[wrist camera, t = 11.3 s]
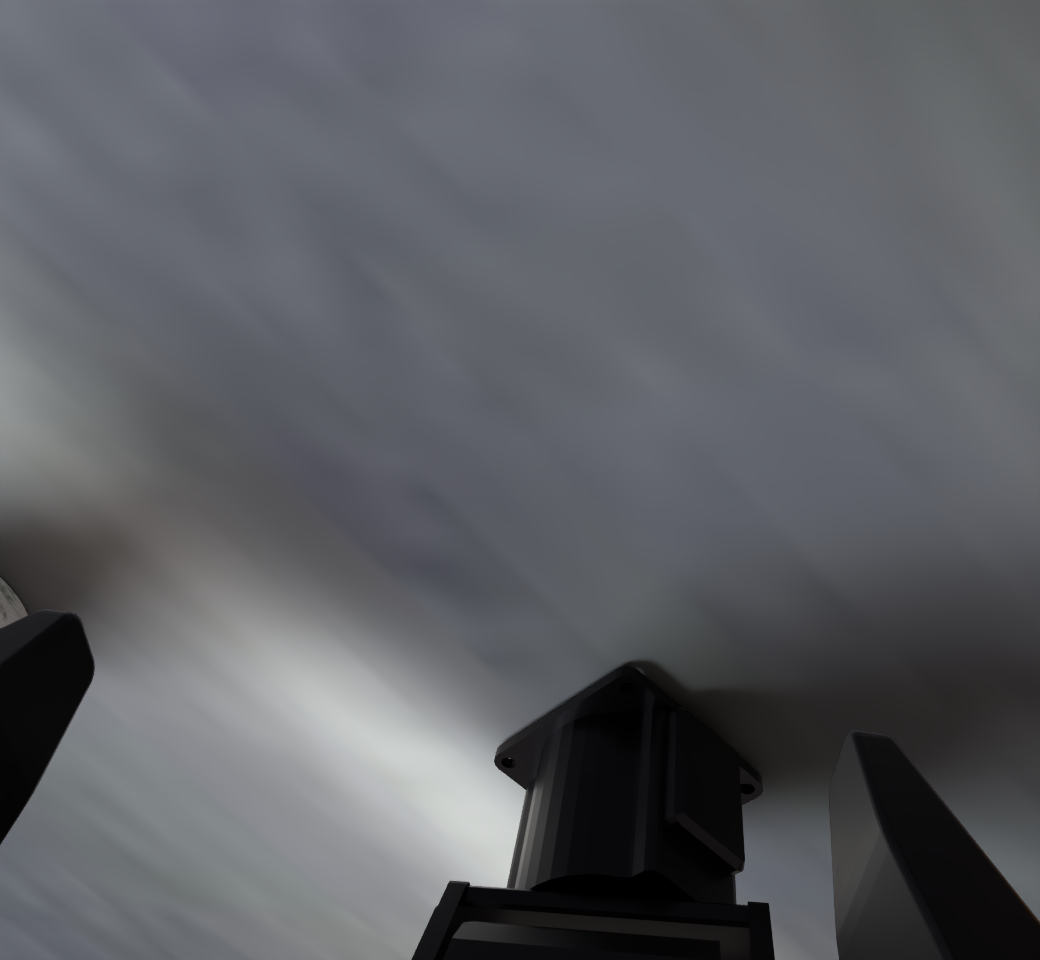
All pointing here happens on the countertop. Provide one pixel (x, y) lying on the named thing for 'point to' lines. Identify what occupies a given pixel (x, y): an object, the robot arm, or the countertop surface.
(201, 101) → the countertop surface
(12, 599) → the spray paint can
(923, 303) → the countertop surface
